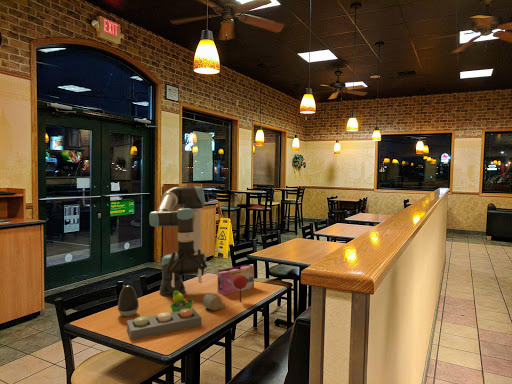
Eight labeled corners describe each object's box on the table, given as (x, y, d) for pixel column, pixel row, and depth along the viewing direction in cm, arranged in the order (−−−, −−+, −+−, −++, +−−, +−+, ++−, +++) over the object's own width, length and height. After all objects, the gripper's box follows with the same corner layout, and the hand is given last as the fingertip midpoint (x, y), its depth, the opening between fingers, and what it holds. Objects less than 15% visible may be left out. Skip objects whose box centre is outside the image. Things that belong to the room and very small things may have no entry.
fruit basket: (182, 317, 184) (182, 295, 184) (167, 315, 187) (167, 293, 187) (194, 309, 195) (193, 288, 194) (179, 307, 198) (179, 287, 198)
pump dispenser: (133, 309, 196) (132, 281, 195) (142, 314, 189) (141, 285, 188) (114, 314, 189) (113, 285, 188) (123, 320, 182) (122, 290, 181)
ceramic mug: (211, 312, 190) (211, 298, 189) (202, 308, 196) (202, 294, 196) (227, 308, 197) (227, 294, 196) (218, 304, 203) (218, 290, 202)
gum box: (222, 296, 216) (221, 273, 216) (215, 292, 222) (214, 270, 222) (254, 287, 231) (254, 266, 230) (247, 285, 237) (246, 264, 236)
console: (127, 329, 171) (126, 320, 171) (193, 316, 185) (193, 308, 185) (131, 340, 159) (130, 331, 159) (201, 325, 174) (201, 317, 174)
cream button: (156, 319, 174) (156, 313, 173) (169, 316, 176) (169, 311, 176) (159, 323, 168) (159, 318, 168) (172, 321, 171) (172, 315, 171)
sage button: (133, 323, 169) (133, 318, 169) (146, 320, 172) (146, 315, 171) (135, 328, 164) (135, 322, 163) (149, 325, 166) (149, 320, 166)
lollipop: (245, 304, 202) (244, 277, 201) (231, 303, 204) (231, 276, 203) (249, 299, 209) (248, 273, 208) (236, 298, 211) (235, 272, 210)
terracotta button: (178, 314, 178) (178, 309, 178) (190, 312, 181) (190, 307, 181) (181, 319, 173) (181, 314, 173) (194, 316, 176) (194, 311, 175)
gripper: (161, 244, 166) (162, 290, 167) (212, 239, 178) (213, 282, 179) (157, 241, 173) (159, 286, 174) (207, 237, 184) (208, 278, 185)
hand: (186, 284), depth 176 cm, fingers open, 13 cm apart
